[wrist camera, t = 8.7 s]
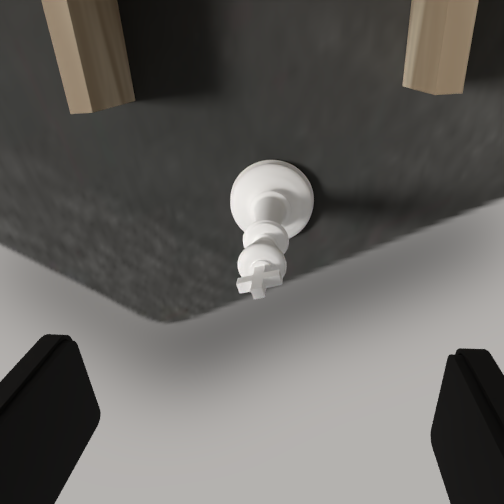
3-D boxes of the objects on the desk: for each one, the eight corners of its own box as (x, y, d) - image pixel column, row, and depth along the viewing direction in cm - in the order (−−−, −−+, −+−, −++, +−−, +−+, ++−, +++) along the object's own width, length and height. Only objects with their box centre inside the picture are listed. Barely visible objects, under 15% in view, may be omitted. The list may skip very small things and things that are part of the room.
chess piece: (322, 228, 23) (339, 334, 14) (245, 246, 24) (216, 356, 15) (302, 149, 21) (308, 215, 12) (219, 172, 22) (170, 249, 13)
